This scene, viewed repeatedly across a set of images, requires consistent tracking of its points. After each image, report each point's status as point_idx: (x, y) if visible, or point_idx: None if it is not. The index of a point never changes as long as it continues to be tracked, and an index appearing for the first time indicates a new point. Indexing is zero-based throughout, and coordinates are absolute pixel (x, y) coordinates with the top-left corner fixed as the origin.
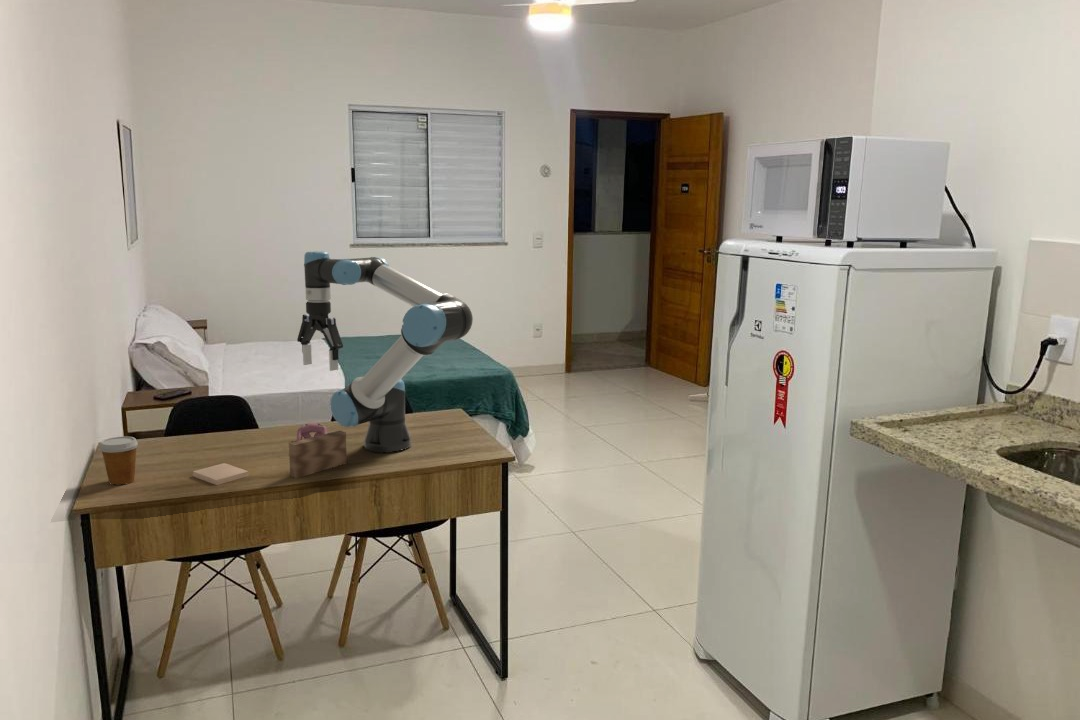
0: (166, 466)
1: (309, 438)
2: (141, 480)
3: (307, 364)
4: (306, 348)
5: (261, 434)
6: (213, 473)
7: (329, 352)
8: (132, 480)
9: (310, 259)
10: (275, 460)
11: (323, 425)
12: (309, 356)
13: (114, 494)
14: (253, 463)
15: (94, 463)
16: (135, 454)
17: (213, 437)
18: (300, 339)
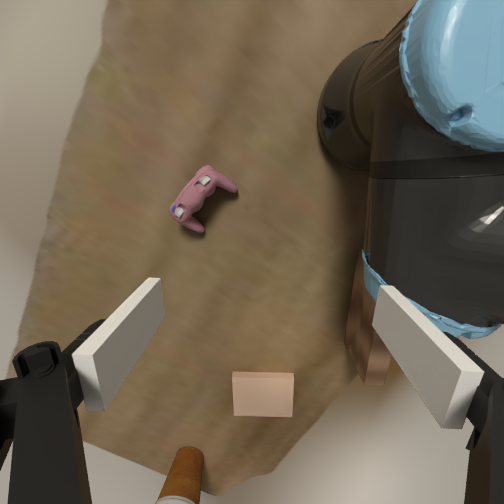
0: (168, 407)
1: (374, 348)
2: (202, 444)
3: (163, 303)
4: (116, 369)
5: (93, 236)
6: (264, 406)
7: (434, 409)
8: (200, 453)
9: None
10: (260, 312)
11: (206, 175)
12: (142, 312)
13: (227, 474)
14: (247, 339)
15: (93, 443)
16: (191, 487)
17: (59, 301)
18: (8, 443)
